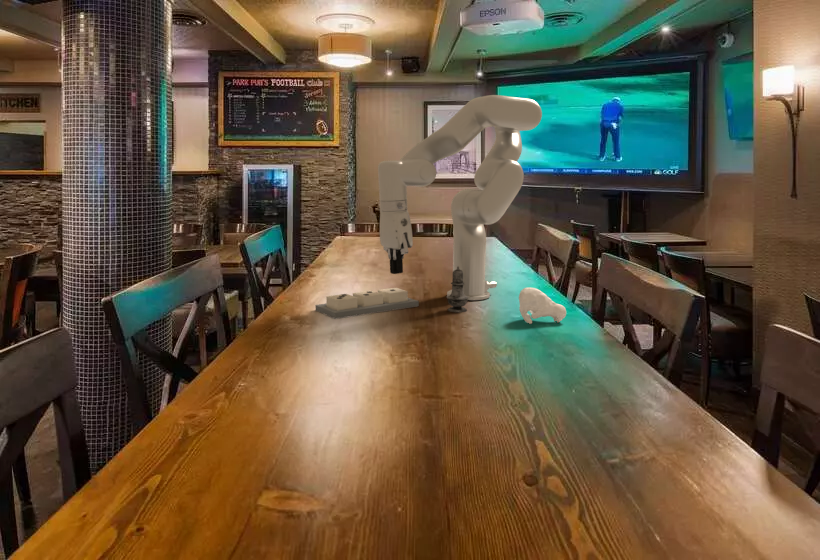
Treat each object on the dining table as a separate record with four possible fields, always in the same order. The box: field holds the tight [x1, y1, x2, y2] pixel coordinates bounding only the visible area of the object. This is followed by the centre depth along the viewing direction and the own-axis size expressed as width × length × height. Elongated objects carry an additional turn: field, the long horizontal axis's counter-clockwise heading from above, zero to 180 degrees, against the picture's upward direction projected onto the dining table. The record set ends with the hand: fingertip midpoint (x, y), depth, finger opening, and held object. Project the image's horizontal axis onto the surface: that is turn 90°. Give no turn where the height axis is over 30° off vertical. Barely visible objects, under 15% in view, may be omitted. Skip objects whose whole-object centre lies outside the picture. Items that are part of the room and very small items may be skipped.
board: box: [314, 297, 420, 319], centre depth 168 cm, size 11×26×2 cm, turn 125°
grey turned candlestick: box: [446, 267, 468, 313], centre depth 166 cm, size 6×6×12 cm
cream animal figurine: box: [518, 287, 567, 325], centre depth 154 cm, size 6×8×12 cm
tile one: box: [377, 287, 409, 303], centre depth 172 cm, size 6×6×4 cm
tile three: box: [325, 293, 358, 311], centre depth 163 cm, size 6×6×4 cm
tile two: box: [352, 290, 383, 307], centre depth 168 cm, size 6×6×4 cm
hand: (396, 273), depth 172 cm, fingers closed
